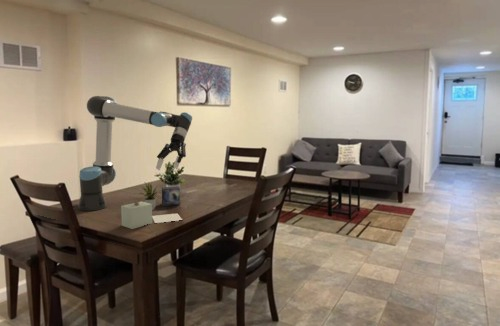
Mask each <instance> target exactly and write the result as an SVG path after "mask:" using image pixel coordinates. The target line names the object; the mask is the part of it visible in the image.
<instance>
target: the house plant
mask: <svg viewBox="0 0 500 326" xmlns="http://www.w3.org/2000/svg"><path fill="white" fill-rule="evenodd" d="M144 185H145V187H146V188H145V187H143V186H142V185H141V184H140V185H139V188H141V189H143V190H144V193H143V192H140V191H139V194H138V196H139V195H143V197H144V198H143V202H146V203H150V204H152V211H153V210H156V204H157V197H156V196H157V195H158V192H157V191H159V190H157V188H158V185H156V187H155V188H154V189H153V185H152V183H151V182H148V183H147V182H145V181H144Z"/></svg>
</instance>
